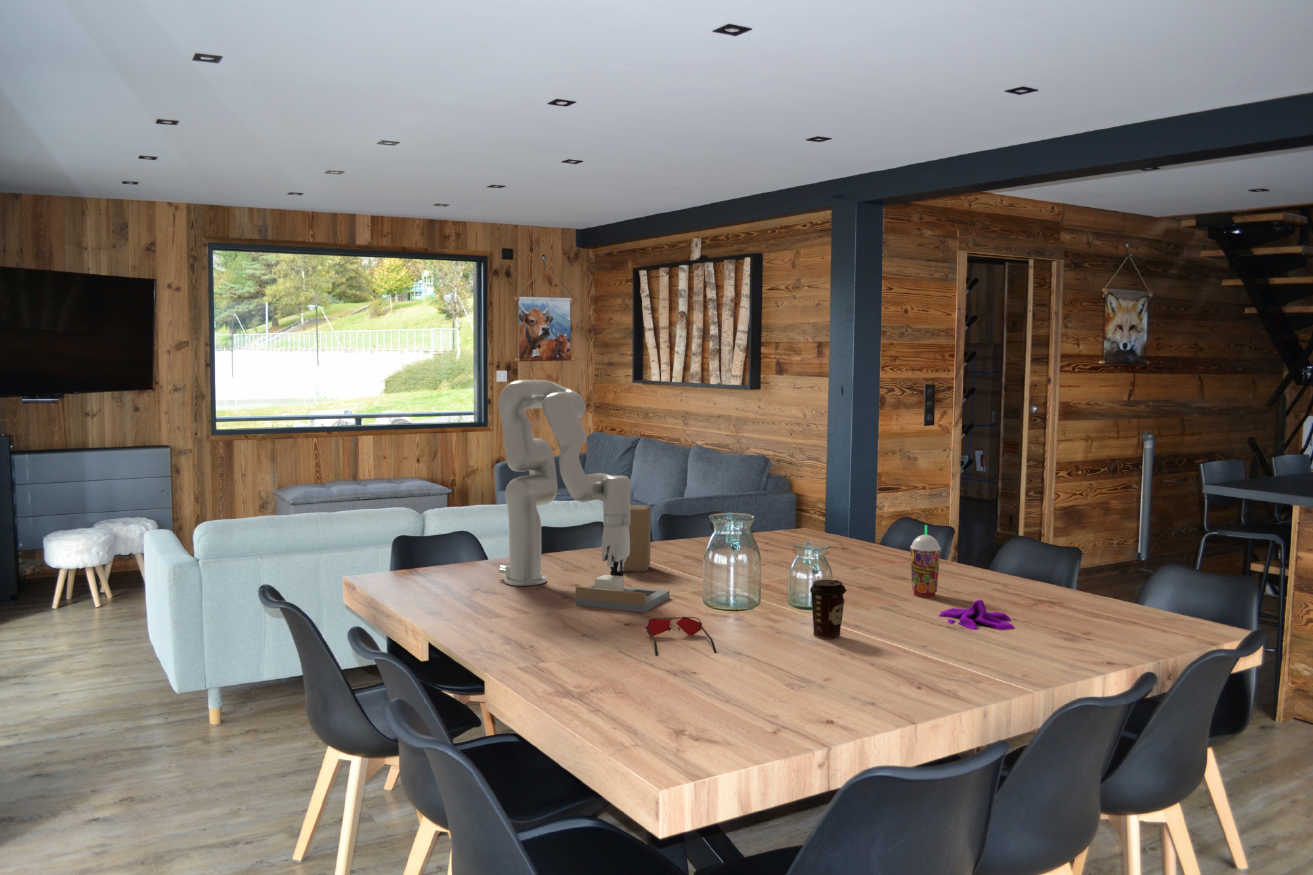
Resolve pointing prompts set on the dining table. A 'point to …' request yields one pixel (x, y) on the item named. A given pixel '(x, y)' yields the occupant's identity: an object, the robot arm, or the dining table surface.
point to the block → (639, 539)
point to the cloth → (978, 617)
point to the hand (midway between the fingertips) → (616, 584)
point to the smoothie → (925, 565)
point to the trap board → (620, 598)
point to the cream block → (610, 582)
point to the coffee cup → (827, 608)
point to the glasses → (685, 624)
